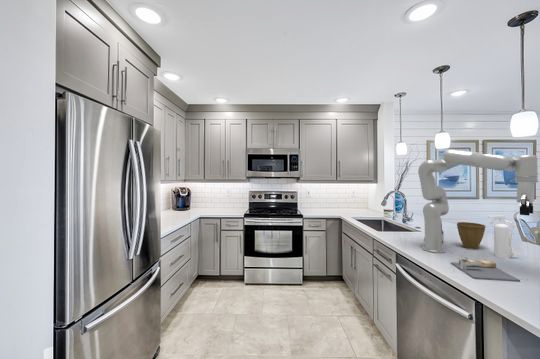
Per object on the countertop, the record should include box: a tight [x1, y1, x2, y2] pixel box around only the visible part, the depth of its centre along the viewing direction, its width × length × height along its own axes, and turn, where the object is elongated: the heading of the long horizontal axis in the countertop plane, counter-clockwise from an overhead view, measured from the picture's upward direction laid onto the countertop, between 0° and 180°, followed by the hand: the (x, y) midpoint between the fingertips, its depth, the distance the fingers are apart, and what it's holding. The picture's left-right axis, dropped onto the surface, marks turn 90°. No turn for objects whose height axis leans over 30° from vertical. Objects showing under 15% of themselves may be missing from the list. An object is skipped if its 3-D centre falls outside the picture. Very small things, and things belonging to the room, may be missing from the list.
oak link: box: [458, 257, 497, 268], centre depth 125 cm, size 15×4×3 cm, turn 78°
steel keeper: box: [460, 261, 483, 270], centre depth 121 cm, size 2×9×4 cm, turn 78°
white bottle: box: [487, 214, 519, 259], centre depth 140 cm, size 7×12×25 cm, turn 58°
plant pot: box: [456, 221, 486, 250], centre depth 159 cm, size 15×15×16 cm
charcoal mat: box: [450, 261, 521, 283], centre depth 120 cm, size 20×18×1 cm
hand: (526, 214), depth 117 cm, fingers open, 9 cm apart
